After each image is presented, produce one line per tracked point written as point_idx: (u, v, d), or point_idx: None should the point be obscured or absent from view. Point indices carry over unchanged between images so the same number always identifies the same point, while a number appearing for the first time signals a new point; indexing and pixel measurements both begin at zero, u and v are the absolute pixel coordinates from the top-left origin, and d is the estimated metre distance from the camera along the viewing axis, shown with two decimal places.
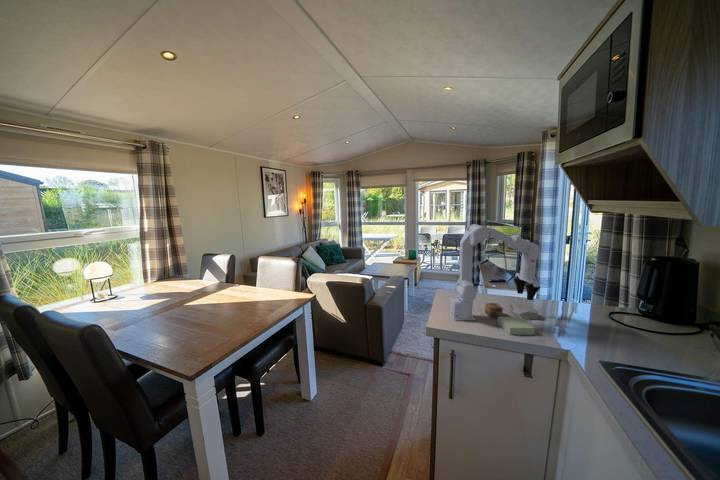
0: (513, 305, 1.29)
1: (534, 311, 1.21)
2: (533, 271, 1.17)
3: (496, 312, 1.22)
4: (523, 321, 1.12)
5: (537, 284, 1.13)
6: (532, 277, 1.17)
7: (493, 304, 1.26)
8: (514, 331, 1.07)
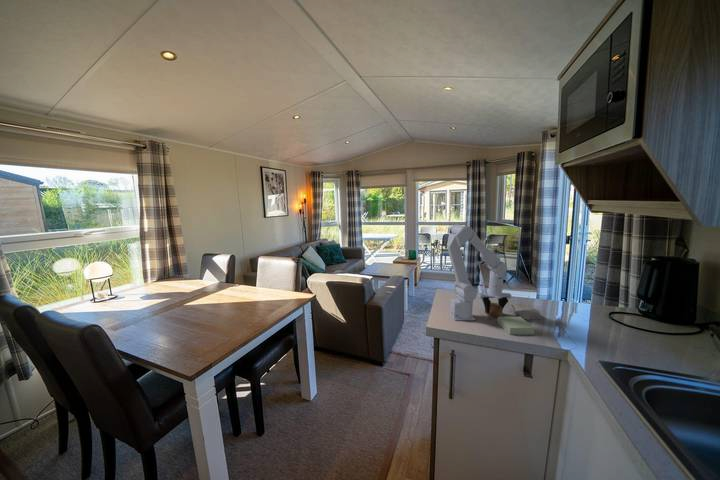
0: (515, 305, 1.29)
1: (536, 311, 1.21)
2: (490, 287, 1.22)
3: (496, 312, 1.22)
4: (523, 321, 1.12)
5: (479, 295, 1.24)
6: (490, 292, 1.23)
7: (493, 304, 1.26)
8: (514, 331, 1.07)
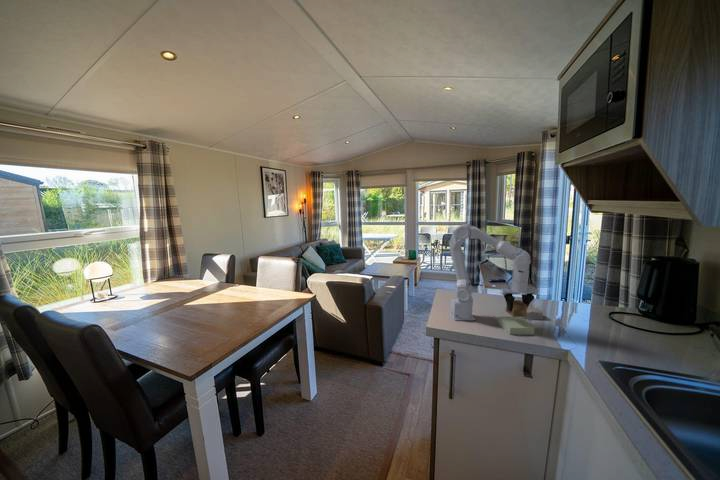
0: None
1: (538, 311, 1.20)
2: (514, 282, 1.08)
3: (519, 311, 1.09)
4: (523, 321, 1.12)
5: (501, 291, 1.10)
6: (513, 288, 1.09)
7: (515, 301, 1.12)
8: (514, 331, 1.07)
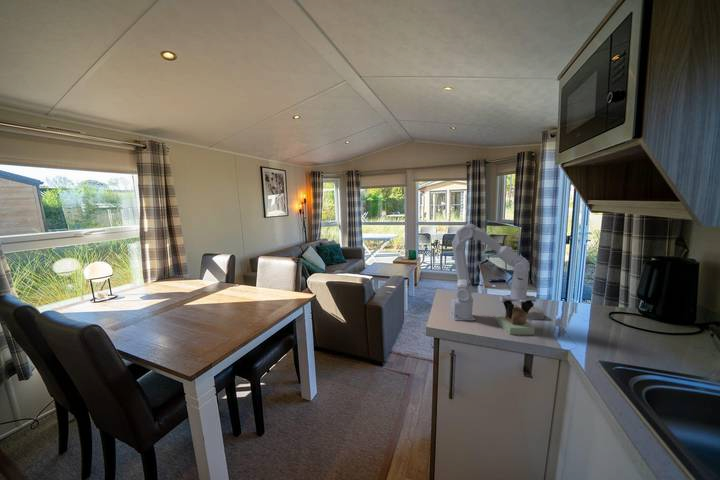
0: (518, 305, 1.29)
1: (539, 311, 1.20)
2: (513, 289, 1.09)
3: (519, 317, 1.09)
4: None
5: (501, 298, 1.10)
6: (512, 295, 1.09)
7: (515, 308, 1.13)
8: (514, 331, 1.07)
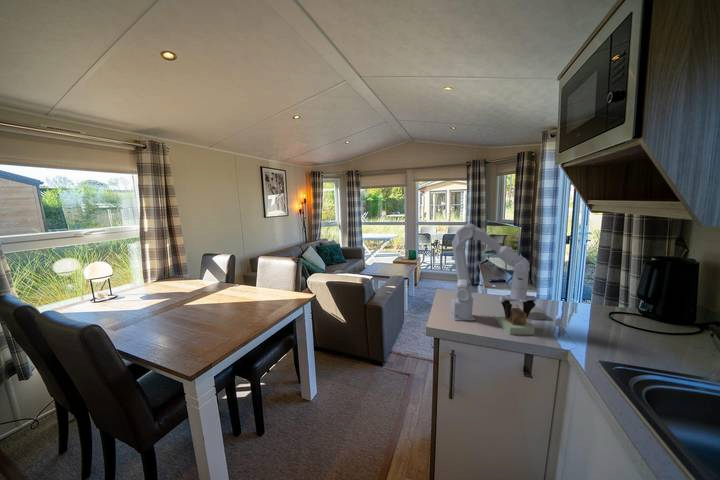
0: (519, 305, 1.29)
1: (541, 311, 1.20)
2: (513, 289, 1.09)
3: (519, 319, 1.09)
4: None
5: (501, 298, 1.10)
6: (512, 295, 1.09)
7: (515, 309, 1.13)
8: (514, 331, 1.07)
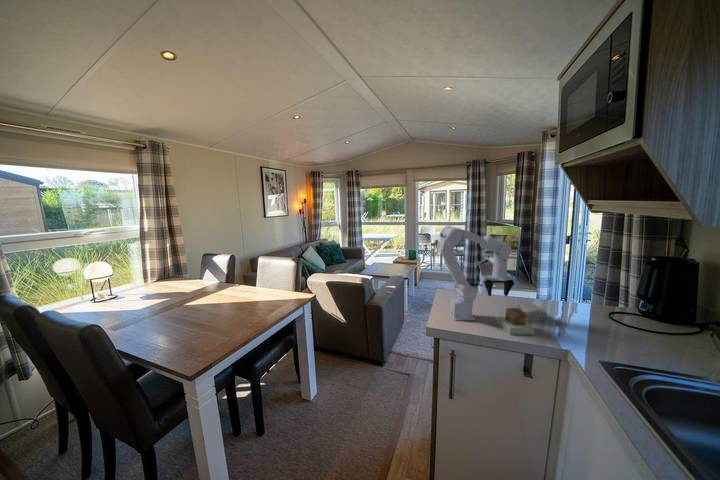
0: (521, 305, 1.29)
1: (543, 311, 1.20)
2: (494, 269, 1.20)
3: (519, 319, 1.09)
4: None
5: (483, 278, 1.22)
6: (494, 275, 1.21)
7: (515, 309, 1.13)
8: (514, 331, 1.07)
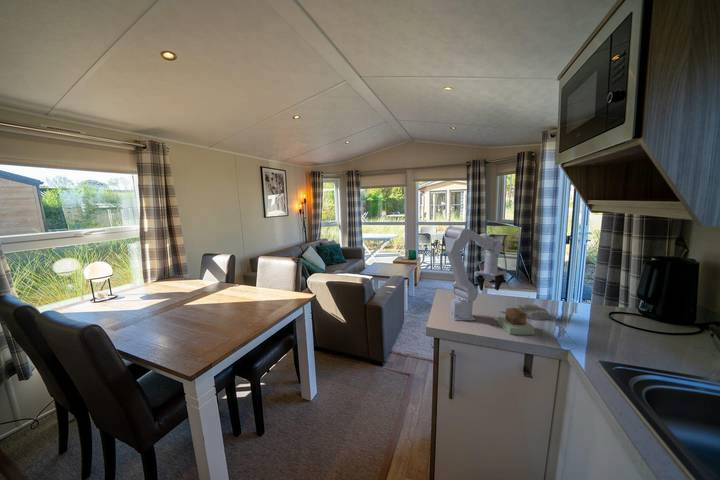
0: (522, 305, 1.29)
1: (544, 311, 1.20)
2: (486, 265, 1.26)
3: (519, 319, 1.09)
4: None
5: (475, 273, 1.28)
6: (485, 270, 1.27)
7: (515, 309, 1.13)
8: (514, 331, 1.07)
